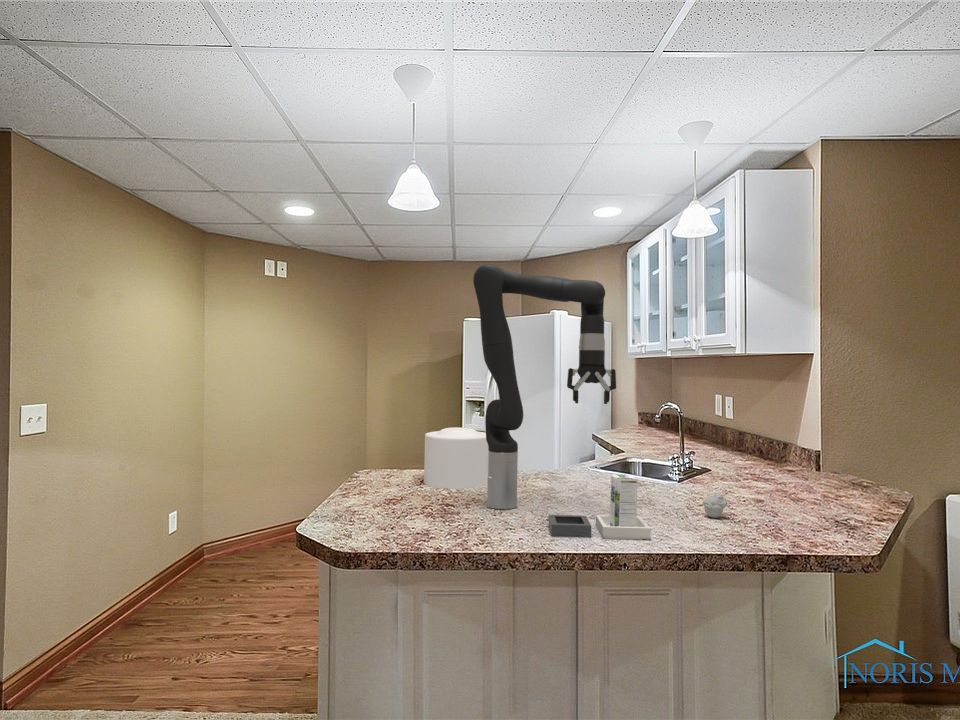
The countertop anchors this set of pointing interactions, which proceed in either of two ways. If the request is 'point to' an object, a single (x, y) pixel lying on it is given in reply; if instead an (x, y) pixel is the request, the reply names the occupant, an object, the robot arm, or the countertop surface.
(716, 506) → the frog figurine
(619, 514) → the syrup box
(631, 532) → the tray
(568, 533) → the socket
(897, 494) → the countertop surface
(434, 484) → the container
